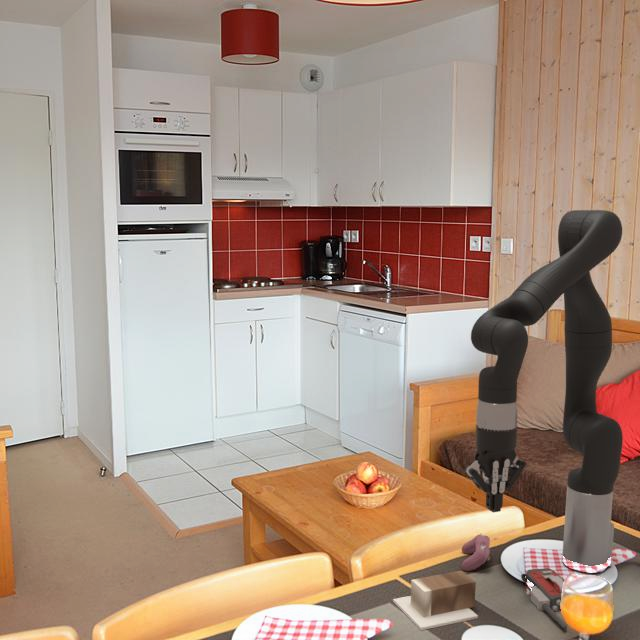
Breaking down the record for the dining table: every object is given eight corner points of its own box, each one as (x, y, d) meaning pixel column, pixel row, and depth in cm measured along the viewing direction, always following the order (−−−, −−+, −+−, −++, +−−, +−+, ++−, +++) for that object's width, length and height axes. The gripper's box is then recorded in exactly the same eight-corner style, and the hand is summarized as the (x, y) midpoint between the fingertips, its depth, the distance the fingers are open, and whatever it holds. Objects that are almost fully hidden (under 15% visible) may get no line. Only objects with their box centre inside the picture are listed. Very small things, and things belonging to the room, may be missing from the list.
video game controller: (478, 580, 165) (495, 553, 163) (459, 569, 165) (475, 542, 164) (478, 559, 175) (494, 534, 173) (459, 549, 175) (475, 523, 173)
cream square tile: (446, 591, 157) (446, 588, 157) (477, 618, 147) (477, 615, 147) (392, 601, 152) (392, 599, 152) (420, 630, 142) (421, 627, 142)
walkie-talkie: (511, 582, 162) (559, 635, 142) (512, 562, 161) (561, 612, 142) (550, 579, 164) (603, 630, 144) (551, 558, 163) (605, 607, 143)
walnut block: (461, 570, 154) (411, 579, 150) (475, 582, 149) (424, 591, 145) (460, 594, 155) (410, 604, 150) (474, 606, 150) (423, 617, 146)
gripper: (513, 413, 154) (511, 498, 157) (455, 421, 149) (453, 508, 152) (538, 424, 148) (534, 512, 150) (477, 432, 143) (475, 523, 145)
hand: (493, 510), depth 151 cm, fingers closed
